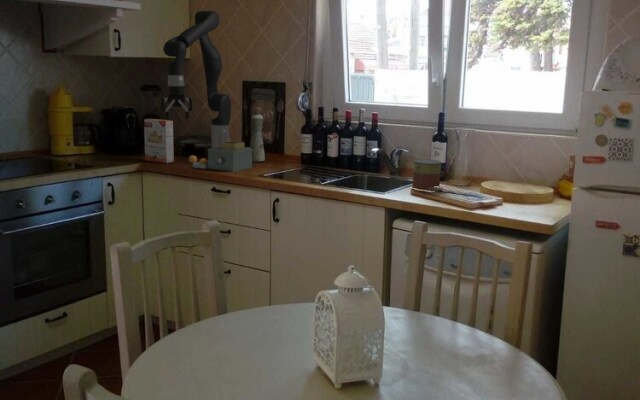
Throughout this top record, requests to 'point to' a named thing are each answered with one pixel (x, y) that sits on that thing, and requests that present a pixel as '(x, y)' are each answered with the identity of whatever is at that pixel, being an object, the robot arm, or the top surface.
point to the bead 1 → (192, 159)
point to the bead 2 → (203, 161)
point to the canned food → (426, 173)
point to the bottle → (257, 137)
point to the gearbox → (230, 157)
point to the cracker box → (158, 140)
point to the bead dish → (200, 165)
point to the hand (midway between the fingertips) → (177, 119)
